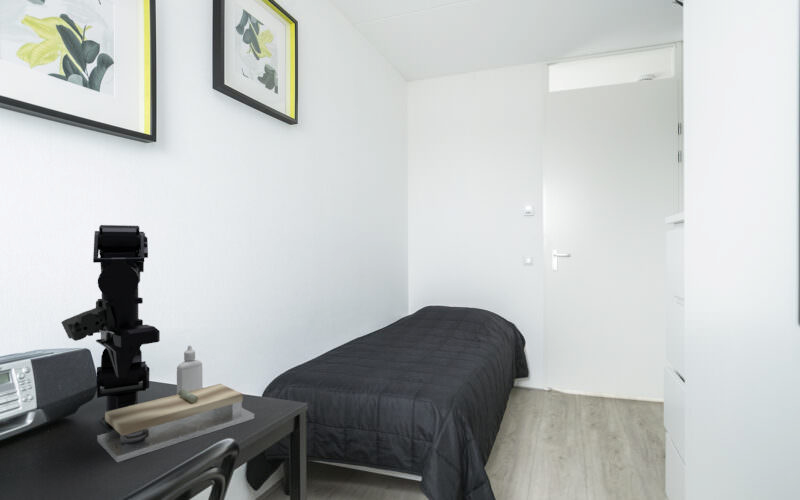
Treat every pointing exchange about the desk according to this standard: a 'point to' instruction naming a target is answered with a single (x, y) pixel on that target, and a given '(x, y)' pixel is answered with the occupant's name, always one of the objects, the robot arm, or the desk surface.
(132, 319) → the robot arm
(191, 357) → the eye dropper bottle
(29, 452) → the desk surface
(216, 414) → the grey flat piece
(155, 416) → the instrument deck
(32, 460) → the desk surface
